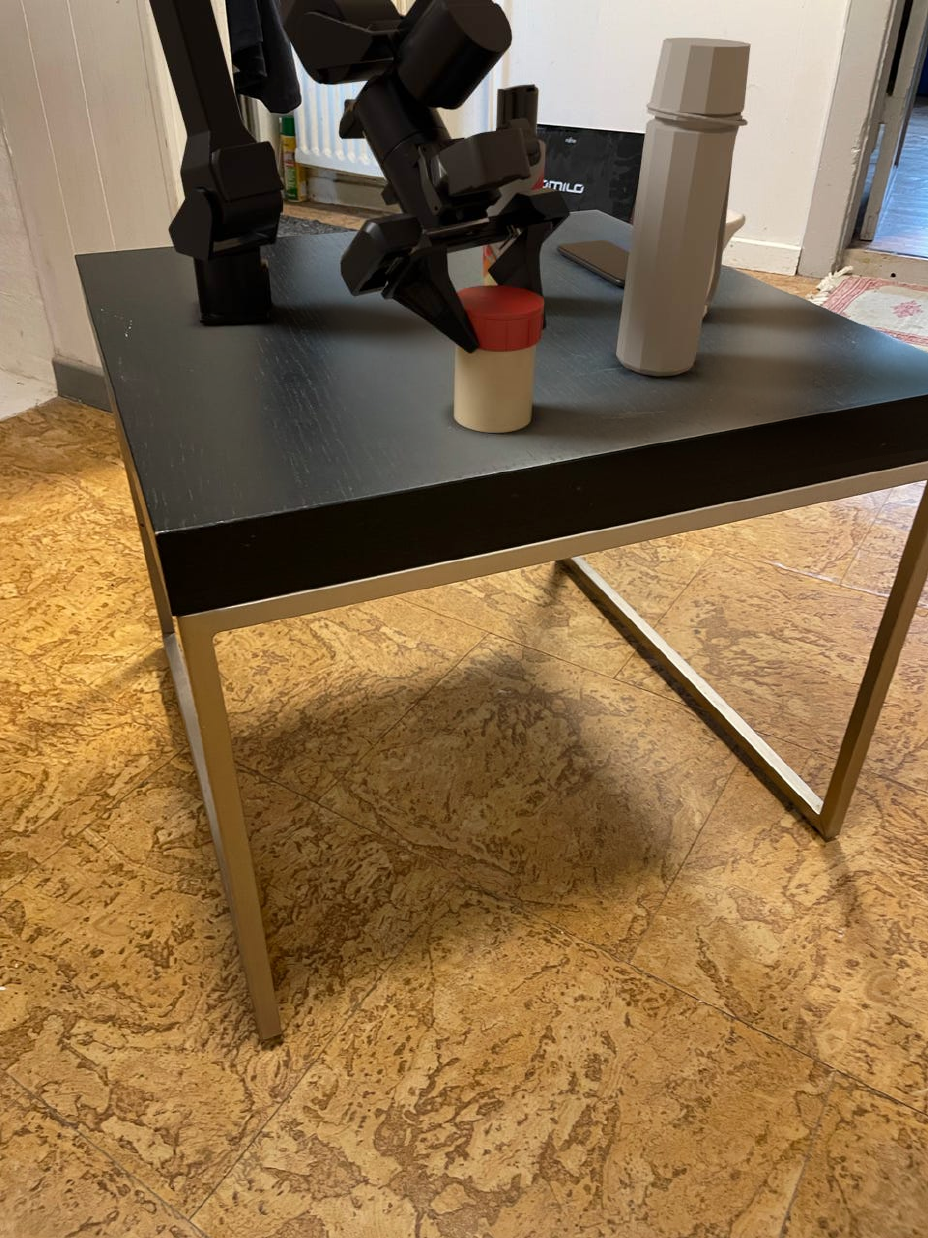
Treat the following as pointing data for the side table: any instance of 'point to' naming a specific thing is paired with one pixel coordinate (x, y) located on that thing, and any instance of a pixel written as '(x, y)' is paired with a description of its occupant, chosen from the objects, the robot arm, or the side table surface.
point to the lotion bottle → (519, 106)
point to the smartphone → (599, 258)
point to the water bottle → (681, 202)
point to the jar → (494, 389)
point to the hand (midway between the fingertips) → (509, 340)
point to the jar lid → (504, 316)
